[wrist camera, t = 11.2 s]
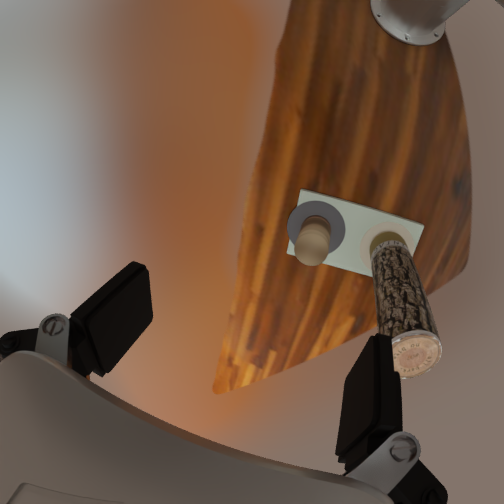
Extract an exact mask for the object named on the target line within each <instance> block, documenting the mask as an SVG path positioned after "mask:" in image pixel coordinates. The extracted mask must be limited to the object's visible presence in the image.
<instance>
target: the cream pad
mask: <svg viewBox="0 0 504 504" xmlns="http://www.w3.org/2000/svg"><path fill="white" fill-rule="evenodd" d="M384 232H395V233H397V234H399V235H400V236H402V238H403V239H404V240H405V242H406V244H407V247H408V249H409V251H410V254H411V256H413V253H414V240H413V237H412V235H411V234H410V232H409V231H408V230H407V229H406V228H405V227H404V226H402V225H400V224H398V223H395V222H382V223H379V224H376V225H374V226H373V227H371V228H370V229H369V230H368V231H367V232H366V233H365V234H364V236H363V238H362V240H361V243H360V257H361V260H362V262H363V263H364V265H365V266H366V267H367V268H368V269H369V270H371V271H372V268H371V260H370V253H369V249H370V245H371V242H372V241H373V239H374V238H375V237H376V236H378V235H379V234H381V233H384Z"/></svg>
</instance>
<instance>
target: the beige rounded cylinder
mask: <svg viewBox="0 0 504 504" xmlns="http://www.w3.org/2000/svg"><path fill="white" fill-rule="evenodd" d="M330 235H331V226H330V223H329V222H328V220H327V219H325V218H324V217H322V216H319V215H312V216H309V217H307V218H306V219H305V220H304V221H303V223H302V225H301V229H300V232H299V235H298V237H297V240H296V243H295V246H294V252H295V255H296V257H297V259H298V260H299V261H300V262H302V263H303V264H306V265H310V266H314V265H318V264H321V263H322V262H324V261H325V259H326V258H327V256H328V251H329V243H330Z"/></svg>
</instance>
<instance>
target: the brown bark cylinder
mask: <svg viewBox="0 0 504 504" xmlns="http://www.w3.org/2000/svg"><path fill="white" fill-rule="evenodd" d="M369 253H370V260H371V268H372V276H373V284H374V293H375V303H376V313H377V326H378V333H380V334H384V335H388V336H391V339H392V348H393V359H394V371H398V372H399V374H400V379H407V378H413V377H416V376H419V375H422V374H424V373H425V372H427V371H429V370H430V369H431V368H433V367H434V365H436V363H437V362H438V360H439V359H440V356H441V353H442V347H441V342H440V338H439V335H438V331H437V328H436V324H435V321H434V318H433V315H432V311H431V308H430V305H429V302H428V299H427V296H426V293H425V290H424V288H423V285H422V282H421V279H420V277H419V274H418V271H417V269H416V266H415V264H414V261H413V258H412V256H411V254H410V251H409V249H408V247H407V244H406V242H405V240H404V239H403V238H402V236H400V235H399V234H397V233H395V232H384V233H381V234H379V235H378V236H376V237H375V238H374V239H373V241H372V242H371V245H370V249H369Z"/></svg>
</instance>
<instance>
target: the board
mask: <svg viewBox="0 0 504 504" xmlns="http://www.w3.org/2000/svg"><path fill="white" fill-rule="evenodd" d="M312 215H319V216H322V217H324V218H325V219H327V220H328V222H329V223H330V226H331V235H330V243H329V251H328V256H327V258H326V259H325V261H324V262H322V263H324V264H328V265H331V266H335V267H339V268H342V269H346V270H349V271H353V272H357V273H360V274H364V275H367V276H371V277H373V276H372V271H371V270H369V269H368V268H367V267H366V266H365V265H364V263H363V262H362V260H361V257H360V243H361V240H362V238H363V236H364V234H365V233H366V232H367V231H368V230H369V229H370V228H371V227H373V226H374V225H376V224H379V223H382V222H395V223H398V224H400V225H402V226H404V227H405V228H406V229H407V230H408V231H409V232H410V234H411V235H412V237H413V240H414V251H415V249H416V246H417V244H418V241H419V239H420V236H421V233H422V231H423V228H424V225H423V224H422V223H419V222H416V221H413V220H410V219H407V218H404V217H401V216H397V215H394V214H391V213H388V212H385V211H382V210H378V209H375V208H372V207H368V206H365V205H362V204H358V203H355V202H351V201H348V200H344V199H340V198H337V197H333V196H329V195H326V194H322V193H318V192H314V191H310V190H306V189H302V188H301V190H300V195H299V200H298V204H297V207H296V208H295V209H294V210H293V211H292V213H291V214H290V216H289V219H288V223H287V232H288V236H289V238H290V241H289V245H288V249H287V254H291V255H295V252H294V246H295V243H296V240H297V237H298V235H299V232H300V229H301V225H302V223H303V221H304V220H305V219H306V218H307V217H309V216H312ZM295 256H296V255H295Z"/></svg>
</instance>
